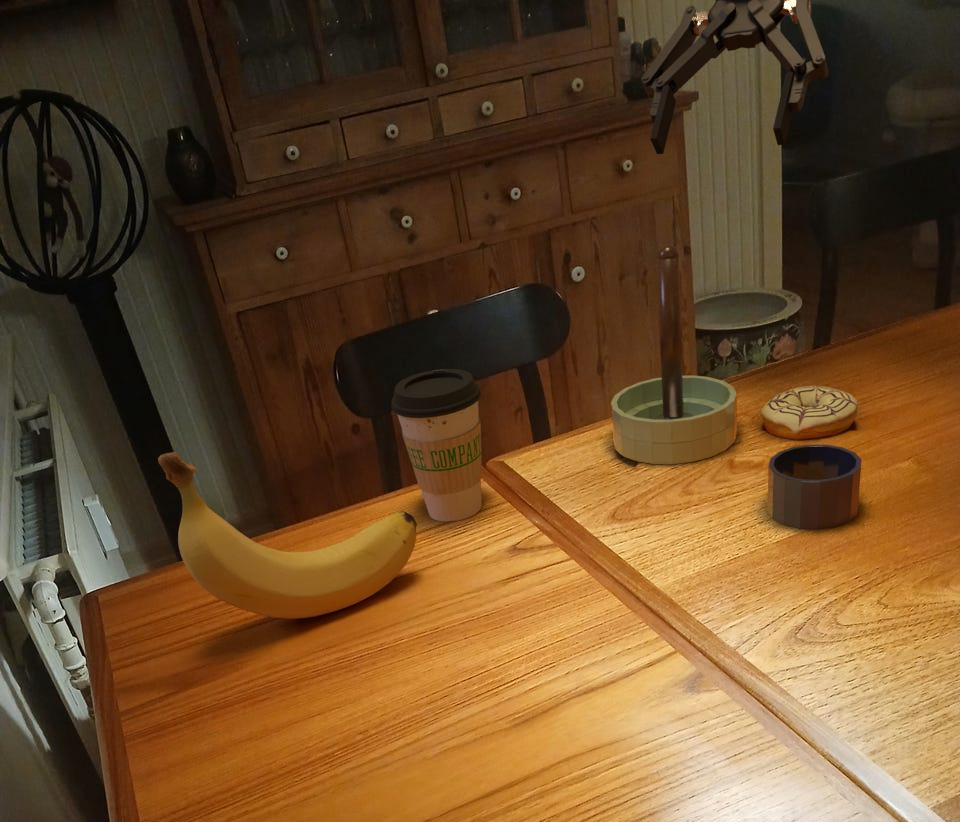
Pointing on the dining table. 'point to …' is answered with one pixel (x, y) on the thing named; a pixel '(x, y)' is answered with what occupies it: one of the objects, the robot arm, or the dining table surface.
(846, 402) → the decorated donut
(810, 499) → the crock
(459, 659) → the dining table surface
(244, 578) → the banana
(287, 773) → the dining table surface
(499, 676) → the dining table surface
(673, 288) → the wooden pestle
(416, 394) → the coffee cup
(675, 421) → the bowl
